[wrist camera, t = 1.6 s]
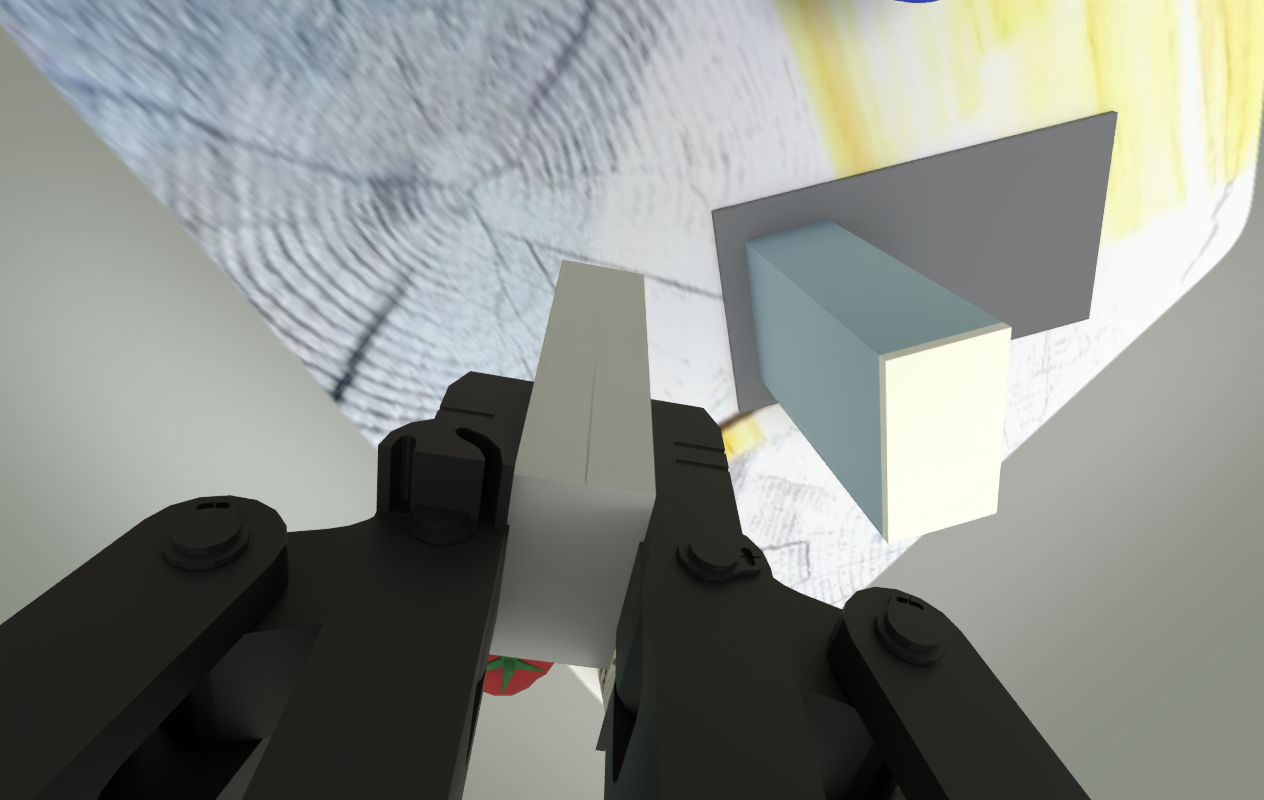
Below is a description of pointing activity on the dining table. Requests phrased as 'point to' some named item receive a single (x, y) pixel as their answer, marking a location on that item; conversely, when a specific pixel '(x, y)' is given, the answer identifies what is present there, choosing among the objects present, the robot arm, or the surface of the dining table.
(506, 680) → the tomato
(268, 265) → the dining table surface
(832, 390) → the block
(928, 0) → the mug
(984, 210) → the mat
